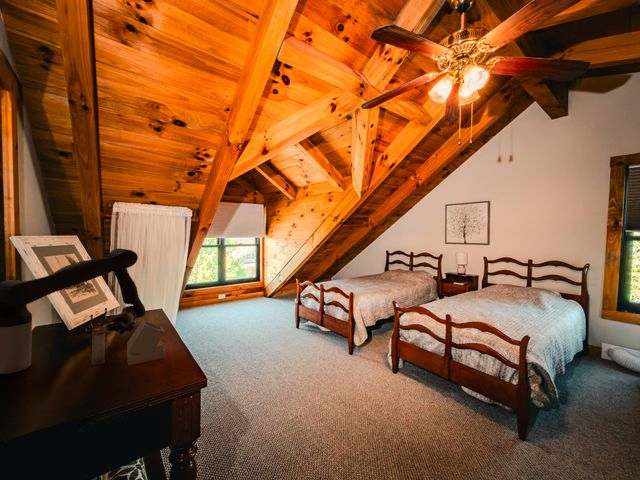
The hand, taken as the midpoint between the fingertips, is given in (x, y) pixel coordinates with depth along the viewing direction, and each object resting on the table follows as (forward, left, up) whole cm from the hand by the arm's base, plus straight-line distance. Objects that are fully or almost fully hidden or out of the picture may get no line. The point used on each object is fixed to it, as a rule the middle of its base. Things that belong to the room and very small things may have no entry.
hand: (109, 333), depth 121 cm
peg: (-3, -10, -8) cm, 13 cm away
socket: (+13, -13, -8) cm, 20 cm away
